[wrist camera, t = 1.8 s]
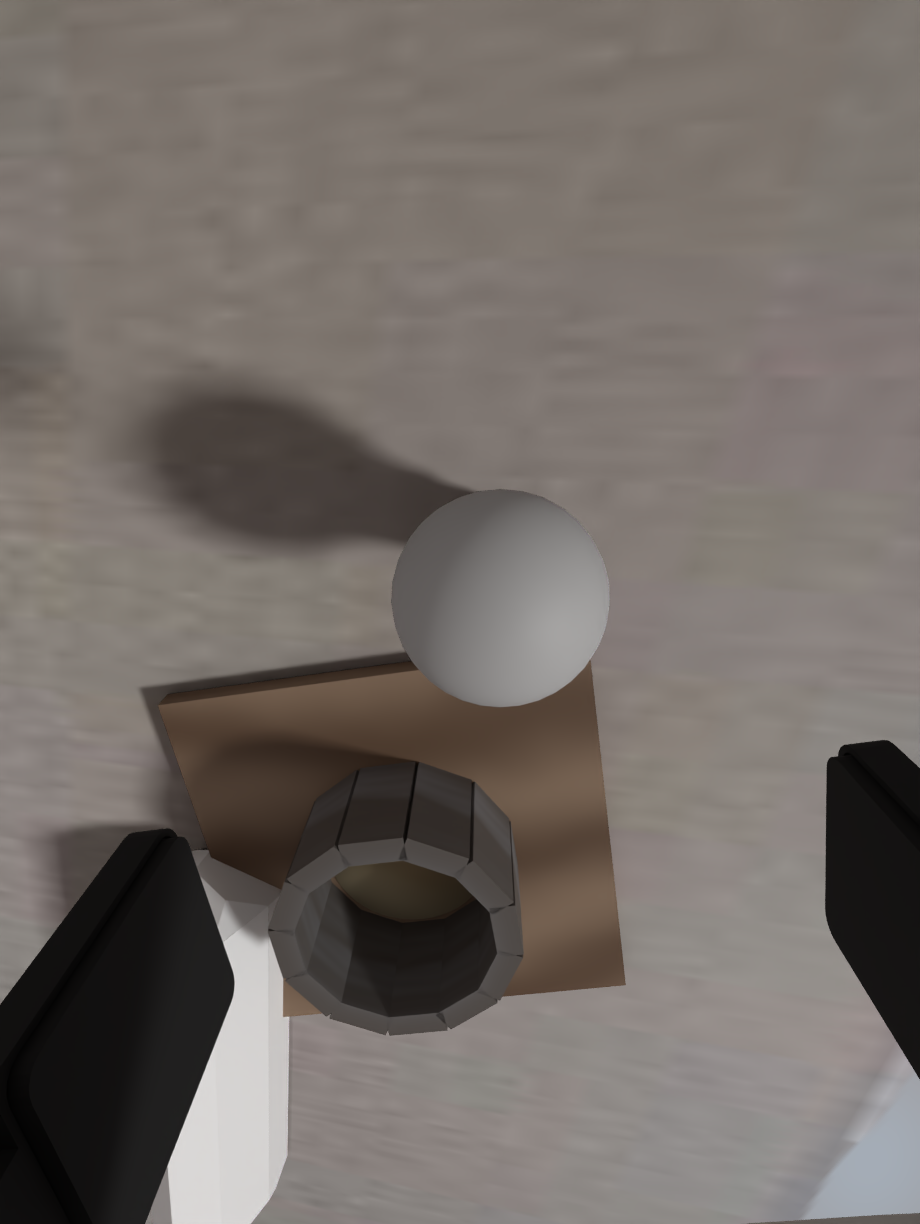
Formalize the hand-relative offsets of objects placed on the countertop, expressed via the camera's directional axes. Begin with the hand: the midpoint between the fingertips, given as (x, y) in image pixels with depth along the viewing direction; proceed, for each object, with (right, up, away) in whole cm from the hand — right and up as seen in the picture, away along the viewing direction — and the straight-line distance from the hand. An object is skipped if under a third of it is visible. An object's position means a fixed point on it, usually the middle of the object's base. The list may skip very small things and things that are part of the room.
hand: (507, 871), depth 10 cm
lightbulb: (+1, +7, +17) cm, 19 cm away
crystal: (-13, -18, +28) cm, 35 cm away
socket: (-3, -7, +22) cm, 24 cm away
